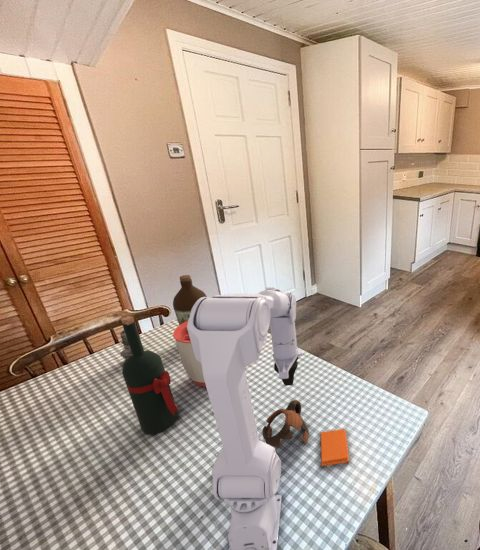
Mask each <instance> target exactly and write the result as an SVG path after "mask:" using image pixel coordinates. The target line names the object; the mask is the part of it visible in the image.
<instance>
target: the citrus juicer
mask: <svg viewBox="0 0 480 550" xmlns="http://www.w3.org/2000/svg"><path fill="white" fill-rule="evenodd" d="M187 324H188V321H186V322H184V323H182V324H181V325H179V324H178V326H176V328H175V329H174V331H173V333H172V337H173V339H174V340H175V343H176V348H177V351H178V355H179V359H180V362H181V365H182V367H183V369H184V372H185V373H186V374H187V376H188V378H189V379H190V380H191V381H192V382H193V383H195V385H197V386H199V387H206V384H205V381H204V376H203V370H202V364H201V363H200V362H199V361H198V360H196V358H195V355H194V351H193V347H192V344H191V340H190V337H189V333H188V330H187Z"/></svg>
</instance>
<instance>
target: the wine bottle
mask: <svg viewBox="0 0 480 550" xmlns="http://www.w3.org/2000/svg"><path fill="white" fill-rule="evenodd" d="M120 321H121V323H122V328H123V329H124V330H123V331H125V334H126V337H127V340H128V343H129V346H130V349H131V352H132V355H131V356H130V357H129V358H128V359H125V360H126V361H124V362H123V365H122V370H121V373H122V377H123V379H124V383H125V386H126V388H127V391H128V394H129V397H130V400H131V403H132V405H133V409H134V411H135V414H136V417H137V421H138V423H139V426H140V429H141V431H142V432H143V433H144V434H146V436H147V435H154V436H155V435H158V434H160V433H163V432H166V431H167V430H168V429H170V428H171V427H173V426H174V425H175V424H176V422H177V421H178V419H179V412H180V409H179V408H178V406H177V404H176V401H175V399H174V395H173V392H172V389H171V386H170V385H171V384H172V383H171V382H172V379H171V376H170V372H169V371H167V370H166V369H165V366H164V362H163V359H162V357H161V355H160V354H158V353H156V352H154V351H152V350H145V348H144V346H143V342H142V339H141V337H140V334H139V333H140V332H139V330H138V327H137V324H136V321H135V317H134V316H130V315H127V316H124V317H123V318H121V319H120Z"/></svg>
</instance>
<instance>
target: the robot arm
mask: <svg viewBox="0 0 480 550" xmlns="http://www.w3.org/2000/svg"><path fill="white" fill-rule="evenodd" d="M296 319H297V297H296V295H295V293H293V292H292V291H282V290H281V289H279V288H278V289H276V288H275V287H271V286H270V287H265V290H262V291H261V290H260V292H258V293H245V292H244V293H241V292H240V293H228V294H227V293H226V294H225V293H224V294H216V295H212V296H211V297H209V296H207V297H202V298H200V299H198V300H197V301H196V303H195V304H194V306H193V307H192V310H191V313H190V317H189V320H188V324H187V330H188V333H189V337H190V340H191V344H192V347H193V351H194V355H195V358H196V360H198V361H199V362H200V363H201V364H202V370H203V376H204V381H205V384H206V386H205V387H206V391H207V394H208V399H209V403H210V406H211V410H212V414H213V416H214V420H215V423H216V427H217V430H218V435H219V438H220V442H221V444H222V449H221V450H220V452H219V453H218V455H217V456H216V458H215V461H214V464H213V466H212V469H211V475H212V483H211V490H212V493H213V496H214V498H215V499H216V500H221V499H223V502H224V504H227V505H229V508H230V526H229V530H228V535H227V540H228V545H229V547H228V550H278V541H279V531H280V530H279V529H280V520H281V510H282V509H281V507H282V498H283V497H282V495H281V494H276V493H277V492H278V489H279V486H280V481H281V473H282V460H281V458H280V456H279V455H278V454H277V452H276V447H272V446H270V445H268V444H266V442H265V441H262V440H260V437H259V432H258V427H257V423H256V417H255V412H254V408H253V402H252V397H251V393H250V388H249V383H248V377H247V373H246V368H247V367H248V366H250V365H252V364H253V363H256V362H258V360H259V359H260V356H261V353H262V351H263V349H264V344H265V341H266V338H267V334H268V332H269V330H270V335H271V344H272V351H273V353H272V359H273V361H274V364H273V369H274V372H276V373H277V374H278V379H279V380H281V381H282V383H283V385H284V386H285V387H287V386H293V385H294V382H295V373H296V371H297V369H298V366H299V361H298V360H299V357H302V356H303V349H301V348H298V342H297V330H296V322H295V321H296Z"/></svg>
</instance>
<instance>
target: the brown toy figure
mask: <svg viewBox="0 0 480 550" xmlns="http://www.w3.org/2000/svg"><path fill="white" fill-rule="evenodd" d="M282 414H283V415H284V417H285V420H284V424H283V426H282V427H281V429H280V430H279V431H278V432H277V433H276V434H275V435H273V428H272V427H271V425H272V423H273V422H274V420H275V419H276V418H277V417H278V416H280V415H282ZM301 414H302V404H301V402H300V401H299V400H298V399H292V400H290V401H289V403H288V405H287V406H286V408H285V409H284V408H280V409H277V410H275V411H273V412H272V413H271V414H269V416H268V418H267V419H266V423H267V425H264V426H263V428H262V431H261V434H262V435H261V436H262V438H263V439H264V442H265V443H266V444H268V445H270V446H272V447H274V448H278V449H282V445H281V444H282V441H291V440H293V439H294V437H295V436H294V435H293V433H292V430H291V428H294V429H295V430H297V431H298V430H302V431H303V432H302V436H301V438H300V439H301V441H302V442H303V443H304V444H305V445H306V444H307V443H308V440H309V437H310V430H309V428H308V426H307V424H306V423H305V420H304V419H303V417H302V416H301ZM272 435H273V436H272ZM281 440H282V441H281Z"/></svg>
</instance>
